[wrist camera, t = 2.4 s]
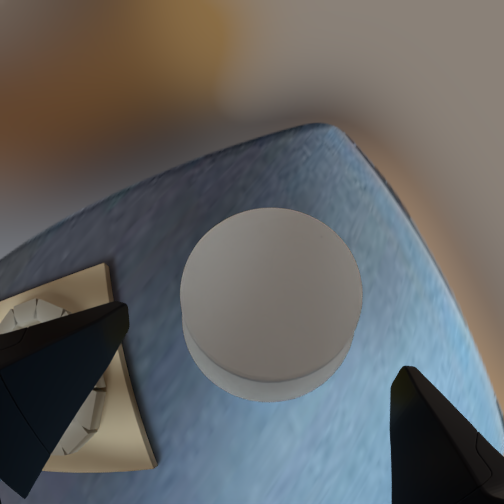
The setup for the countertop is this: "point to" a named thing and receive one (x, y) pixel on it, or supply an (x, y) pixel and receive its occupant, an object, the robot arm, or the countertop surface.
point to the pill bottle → (270, 304)
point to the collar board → (105, 391)
